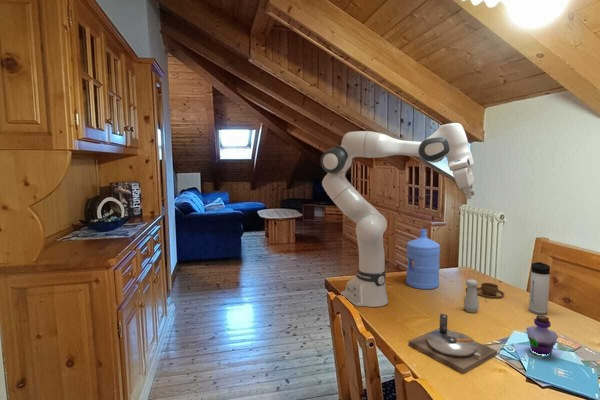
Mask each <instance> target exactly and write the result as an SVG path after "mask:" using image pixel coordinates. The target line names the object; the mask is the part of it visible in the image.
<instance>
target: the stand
mask: <svg viewBox="0 0 600 400" xmlns="http://www.w3.org/2000/svg"><path fill="white" fill-rule="evenodd" d="M438 330H440V327H438V328H436V329H434V330H431V331H428V332H425V333H424V334H421V335H419V336H417V337H414V338H412V339H410V340H408V346H409V347H412V348H413V349H415V350H417V351H419V352H421V353H423V354H425V355H427V356H429V357H430V358H432V359H434V360H436V361H438V362H440V363H442V364H444V365H445V366H447V367H449V368H451V369H453V370H456V371H457V372H459V373H460V374H462V375H463V374H465V373H467V372H469V371H472V370H473V369H474V368H477V367H478V366H480V365H482V364H484V363H485V362H487V361H488V360H491V359H493V358H494V357H496V356H497V355H498V350H497V349H494V348H492V347H490V346H487V345H485V344H482V343H480V342H478V341H475V340H474V341H475V342H476V343H477V352H476V353H475V354H474V355H472V356H469V357H451V356H447V355H444V354H441V353H438V352H436V351H435V350H433V349H432V348H431V347H430V346H429V345H428V343H427V336H428V334H429V333H431V332H433V331H438ZM447 330H449V331H451V330H450V329H448V328H447Z"/></svg>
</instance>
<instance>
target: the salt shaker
mask: <svg viewBox="0 0 600 400" xmlns="http://www.w3.org/2000/svg"><path fill="white" fill-rule="evenodd" d="M465 281H466V282H465V285H466V286H467V287H466V288H467V292H466V291H465V297H464V300H463V307H464V309H465V311H466V312H467V313H471V314H475V313H477V312H478V310H479V308H480V302H479V295H477V289H476V287H478V286H479V282H478V281H477V280H476V279H473V278H472V279H470V278H469V279H467V280H465Z"/></svg>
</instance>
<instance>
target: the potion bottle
mask: <svg viewBox="0 0 600 400" xmlns="http://www.w3.org/2000/svg"><path fill="white" fill-rule="evenodd" d="M550 321H551V320H550V318H549V317H548V316H546V315H537V314H536V316H535V318H534V319H533V323H534V325H535V326H534V325H531V326H528V327H525V330H526V333H527V334H526V335H527V339H528V340H529V345H530V349H532V351H534V352H536V353H538V354H546V355H547V354H549V353H551V354H552V353H553V349H554V346H556V344H557V340H558V338H559V336H558V334H557V333H556V331H554V330H551V329H549V328H550V327H551V324H552V323H551V322H550Z"/></svg>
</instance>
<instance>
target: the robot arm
mask: <svg viewBox="0 0 600 400" xmlns="http://www.w3.org/2000/svg"><path fill="white" fill-rule="evenodd" d="M391 156H408V157H416V158H417V157H418V158H421V159H422V160H423V161H425V162H428V163H432V164H433V163H434V164H435V163H438V162H441V161H442V160H443V159H444V158H446V161H447V165H448V168H449V171H450V172H452V175H453V178H454V181H455V184H456V186H457V188H458V189H459V190H462V192H463V193H464V197H465V199H466V200H471V199H472V197H473V196H475V190H474V185H473V184H474V183H475V178H474V173H473V171H472V169H473V166H472V165H474V164H475V161H474V158H473V155H472V152H471V149H470V147H469V141H468V137H467V133H466V131H465V129H464V127H463V125H462V124H461V123H459V122H456V121H455V122H448V123H443V124H441V125H440V126H439V127H438V128H437V130H436V131H434V133H432V134H431V135H430V136H428V137H427V138H424V139H423V140H422V141H415V140H414V141H412V140H401V139H398V138H394V137H392V136H389V135H388V134H385V133H381V132H376V131H365V130H360V131H359V130H357V131H349V132H346V133H345V134H344V135H343V137H342V140H341V145H335V146H334V147H331V148H329V149H328V150H326V151H325V152H323V154H322V155H321V157H320V166H321V168H322V169H323V170H324V171H325V172H326V175H324V177H323V179H322V181H321V185H322V188H323V189H324V192H326V194H327V196H329V198H330V199H331V201H332V202H333V203H334V204H335V205H336V207H337V208H338V209H339V210H340V211H341V212H342V213H343V215H345V216H346V217H347V218H349V219H351V220H352V221H353V222H354V223H355V224H356V226H355V235H356V241H357V247H358V268H356V269H355V270H354V273H356V275H355V276H354V277H353V278H351V279H350V280H348V281H347V282H346V284H345V289H344V290H342V291H341V292H340V294H341V295H343V296H345V297H346V298H347V299H348V300H347V299H346V298H345V299H346V300H347V301H349V302H350V303H352V304H353V305H354V306H356V307H369V308H370V307H371V308H372V307H373V308H376V307H377V308H378V307H383V306H385V305H387V304H388V303H389V300H388V294H387V287H386V278H387V274H386V273H387V272H386V269H385V263H386V260H385V255H386V254H385V248H384V234H385V232H386V230H387V228H388V222H387V218H386V217H385V216H384V214H382V213H380V211H378V210H377V209H376V208H375V207H374V206H373V205H372V204H371V203H370V202H368V201H367V200H366V199H365V198H364V196H362V195H361V194H360V193H359V191H358V190H357V189H356V188H355V187H354V186H353V185H352V183H351V182H350V181H349V180H348V179H347V177H346V176H348V174H349V171H350V169H351V168H352V166H353V165H354V158H358V157H360V158H368V159H371V158H372V159H375V158H376V159H377V158H379V159H380V158H384V157H385V158H386V157H391ZM341 295H340V296H341ZM343 296H342V297H343Z"/></svg>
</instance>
